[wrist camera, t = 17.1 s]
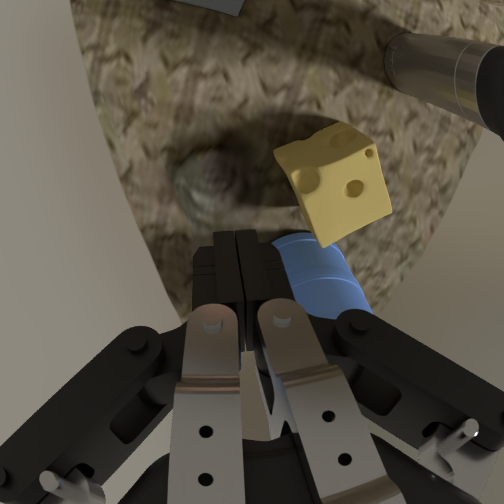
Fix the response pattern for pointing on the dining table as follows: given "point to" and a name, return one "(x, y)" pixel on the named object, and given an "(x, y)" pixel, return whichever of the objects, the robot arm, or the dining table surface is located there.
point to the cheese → (335, 181)
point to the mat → (218, 5)
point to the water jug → (319, 276)
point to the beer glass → (491, 2)
